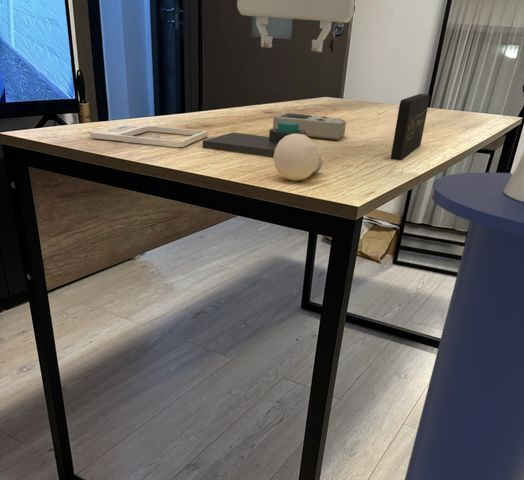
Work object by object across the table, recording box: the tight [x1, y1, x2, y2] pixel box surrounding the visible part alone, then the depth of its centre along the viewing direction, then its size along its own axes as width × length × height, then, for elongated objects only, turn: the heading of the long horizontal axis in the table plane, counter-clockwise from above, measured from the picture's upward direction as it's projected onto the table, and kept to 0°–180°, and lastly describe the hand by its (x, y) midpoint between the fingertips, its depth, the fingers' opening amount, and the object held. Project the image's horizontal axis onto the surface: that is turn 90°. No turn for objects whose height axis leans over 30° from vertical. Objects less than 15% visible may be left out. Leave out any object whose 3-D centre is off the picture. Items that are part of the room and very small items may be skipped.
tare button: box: [277, 122, 299, 133], centre depth 102 cm, size 4×4×2 cm
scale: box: [202, 127, 306, 158], centre depth 101 cm, size 16×14×3 cm
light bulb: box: [272, 134, 323, 182], centre depth 80 cm, size 7×7×11 cm
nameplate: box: [390, 93, 431, 161], centre depth 104 cm, size 21×2×10 cm, turn 156°
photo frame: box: [89, 122, 209, 148], centre depth 104 cm, size 15×1×18 cm
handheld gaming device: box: [272, 112, 347, 141], centre depth 117 cm, size 9×15×4 cm, turn 73°
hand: (291, 49), depth 94 cm, fingers open, 8 cm apart
